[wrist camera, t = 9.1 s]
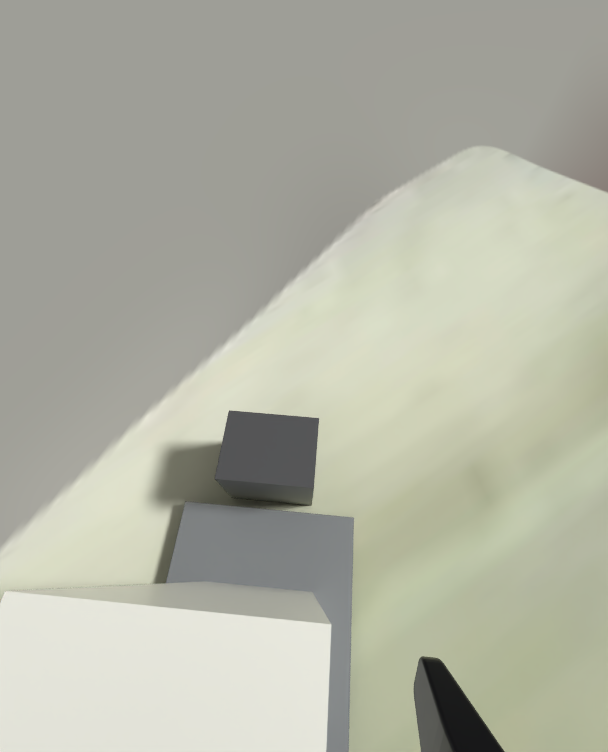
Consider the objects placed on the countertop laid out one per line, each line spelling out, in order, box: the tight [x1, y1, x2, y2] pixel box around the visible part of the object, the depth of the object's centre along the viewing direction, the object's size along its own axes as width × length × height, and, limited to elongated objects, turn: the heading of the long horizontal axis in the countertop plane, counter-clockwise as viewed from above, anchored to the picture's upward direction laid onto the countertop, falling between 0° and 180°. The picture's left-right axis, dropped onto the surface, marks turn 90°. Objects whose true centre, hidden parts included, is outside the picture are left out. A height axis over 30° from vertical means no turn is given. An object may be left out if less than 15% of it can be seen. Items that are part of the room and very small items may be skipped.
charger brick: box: [0, 581, 331, 752], centre depth 9 cm, size 5×5×12 cm
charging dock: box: [166, 411, 354, 752], centre depth 14 cm, size 14×8×4 cm, turn 175°
